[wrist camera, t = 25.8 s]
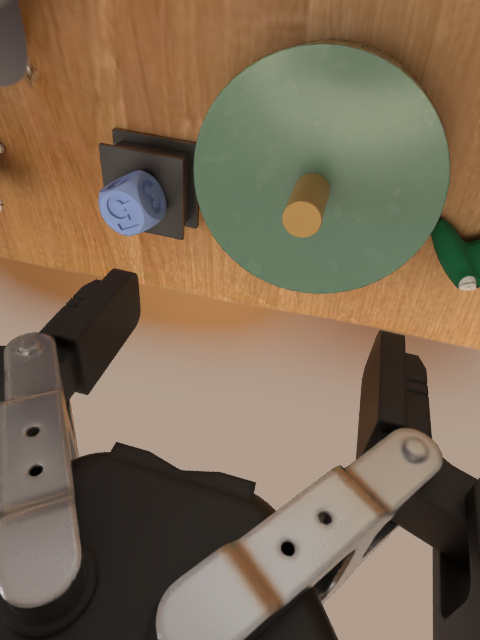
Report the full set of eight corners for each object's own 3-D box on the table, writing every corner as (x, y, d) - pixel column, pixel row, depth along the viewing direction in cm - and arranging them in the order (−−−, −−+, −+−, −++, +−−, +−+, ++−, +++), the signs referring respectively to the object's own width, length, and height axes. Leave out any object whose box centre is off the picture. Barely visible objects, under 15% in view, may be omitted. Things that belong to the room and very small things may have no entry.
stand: (200, 143, 38) (186, 156, 36) (198, 226, 43) (185, 243, 41) (114, 127, 40) (94, 139, 37) (122, 210, 45) (105, 226, 42)
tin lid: (497, 63, 26) (520, 86, 22) (399, 306, 38) (400, 354, 34) (201, 22, 29) (165, 34, 24) (195, 261, 41) (170, 300, 36)
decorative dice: (136, 220, 41) (116, 241, 38) (113, 179, 39) (89, 197, 36) (172, 208, 39) (154, 229, 36) (150, 164, 37) (129, 183, 34)
